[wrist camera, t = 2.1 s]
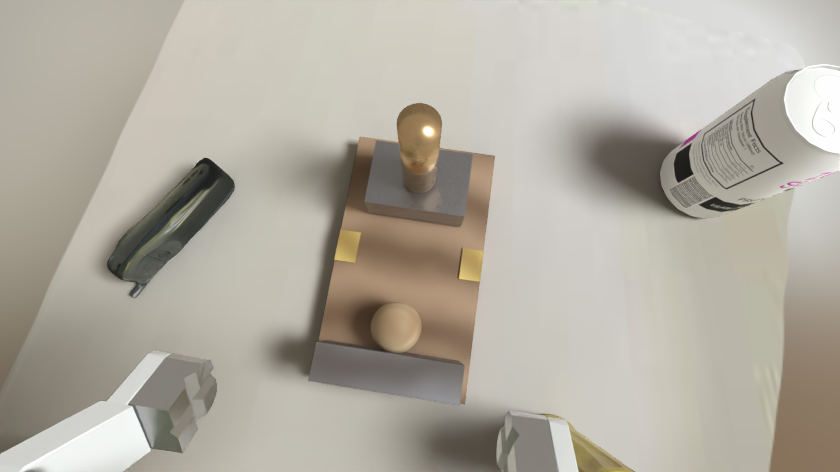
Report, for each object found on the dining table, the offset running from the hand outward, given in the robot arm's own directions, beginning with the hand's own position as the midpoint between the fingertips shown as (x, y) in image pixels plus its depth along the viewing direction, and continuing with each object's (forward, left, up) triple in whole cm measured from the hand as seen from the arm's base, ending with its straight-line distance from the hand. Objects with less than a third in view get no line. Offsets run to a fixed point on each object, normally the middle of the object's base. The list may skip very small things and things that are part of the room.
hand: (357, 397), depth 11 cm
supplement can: (-8, -34, -29) cm, 46 cm away
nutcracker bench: (+6, -7, -29) cm, 31 cm away
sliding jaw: (+10, -11, -27) cm, 31 cm away
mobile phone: (+23, +9, -30) cm, 39 cm away
